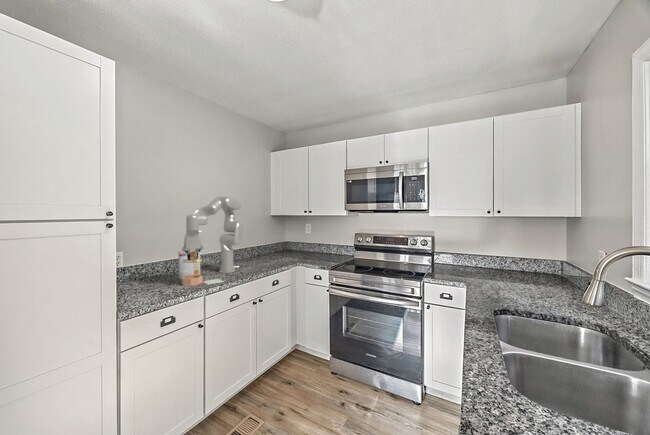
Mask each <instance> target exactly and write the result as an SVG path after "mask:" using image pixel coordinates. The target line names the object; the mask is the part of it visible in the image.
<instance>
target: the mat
mask: <svg viewBox="0 0 650 435" xmlns="http://www.w3.org/2000/svg"><path fill="white" fill-rule="evenodd" d="M224 282H225V281H224V280H222V279H220V278H215V279H208V280H202V283H205V284H206V285H212V284H214V285H215V284H218V283H224Z"/></svg>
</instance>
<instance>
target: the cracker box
mask: <svg viewBox="0 0 650 435" xmlns="http://www.w3.org/2000/svg"><path fill="white" fill-rule="evenodd" d="M193 251H195V249H191V250H190V252H193ZM195 252H196V251H195ZM177 255H178V257H177V258H178V280H180V281H182V277H184V276H188V275H201V262H195V263H184V262H183V260H185V259H187V253H186V252H184V251H182V250H180V251H177ZM198 258H201V251H200V252H199V253H198Z"/></svg>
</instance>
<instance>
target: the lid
mask: <svg viewBox="0 0 650 435" xmlns="http://www.w3.org/2000/svg"><path fill="white" fill-rule="evenodd" d="M202 261H203V258H201V257H200V258H198V259H197V252H195V251H193V252H190V260H188V259H185V260H183V262H184V263H195V262H200V263H201V262H202Z"/></svg>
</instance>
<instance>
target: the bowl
mask: <svg viewBox="0 0 650 435" xmlns="http://www.w3.org/2000/svg"><path fill="white" fill-rule="evenodd" d="M181 284H182V286H185V287H186V286H189V287H190V286H197V285H200V284H203V275H201V274H200V275H188V276H184V277H182V280H181Z"/></svg>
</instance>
